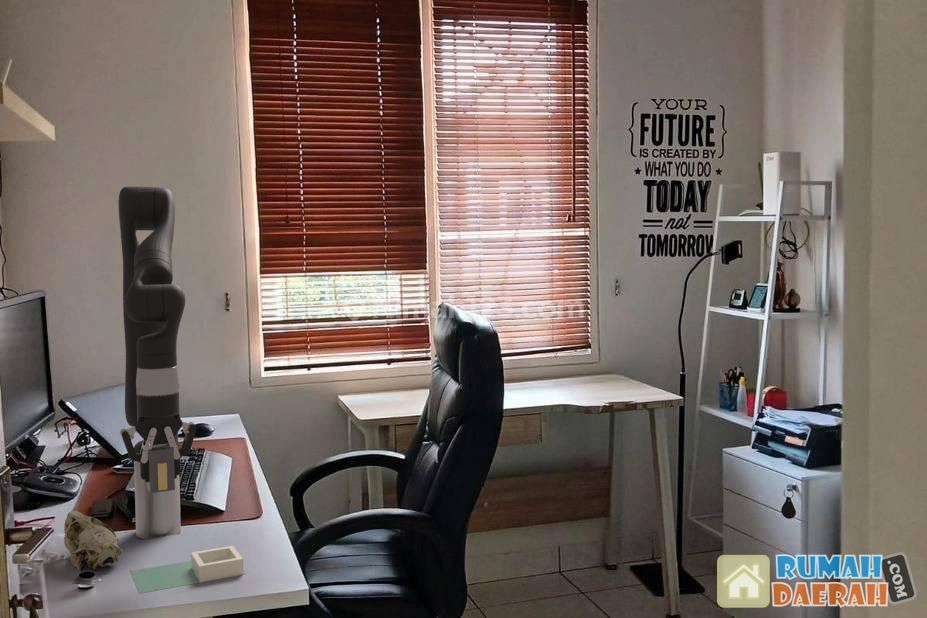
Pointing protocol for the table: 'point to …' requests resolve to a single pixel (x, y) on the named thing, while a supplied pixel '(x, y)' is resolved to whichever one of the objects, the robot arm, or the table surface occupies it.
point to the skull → (90, 541)
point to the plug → (161, 468)
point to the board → (165, 577)
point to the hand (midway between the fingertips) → (160, 479)
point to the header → (216, 563)
